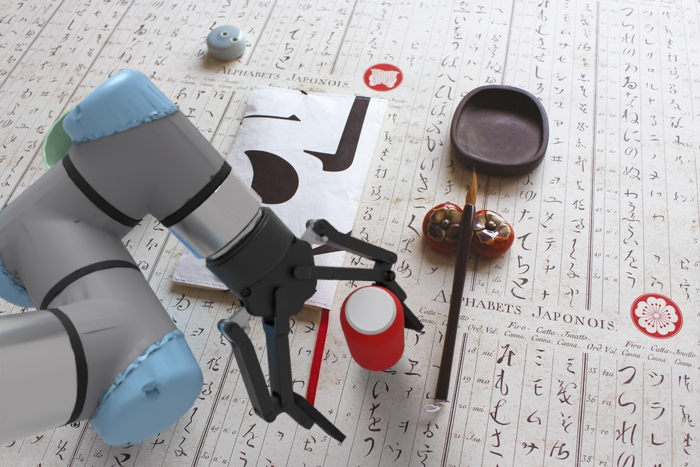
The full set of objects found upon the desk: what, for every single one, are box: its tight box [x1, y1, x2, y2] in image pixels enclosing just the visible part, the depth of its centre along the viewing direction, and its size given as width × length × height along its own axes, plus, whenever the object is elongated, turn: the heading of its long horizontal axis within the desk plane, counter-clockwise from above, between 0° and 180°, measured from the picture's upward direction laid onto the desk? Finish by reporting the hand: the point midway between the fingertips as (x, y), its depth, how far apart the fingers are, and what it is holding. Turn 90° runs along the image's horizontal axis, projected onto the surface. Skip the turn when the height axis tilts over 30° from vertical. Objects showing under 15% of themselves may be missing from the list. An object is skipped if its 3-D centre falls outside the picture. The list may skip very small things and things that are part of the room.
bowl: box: [41, 103, 79, 171], centre depth 78 cm, size 16×16×5 cm
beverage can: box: [339, 284, 406, 372], centre depth 57 cm, size 6×6×12 cm
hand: (377, 379), depth 57 cm, fingers open, 13 cm apart
